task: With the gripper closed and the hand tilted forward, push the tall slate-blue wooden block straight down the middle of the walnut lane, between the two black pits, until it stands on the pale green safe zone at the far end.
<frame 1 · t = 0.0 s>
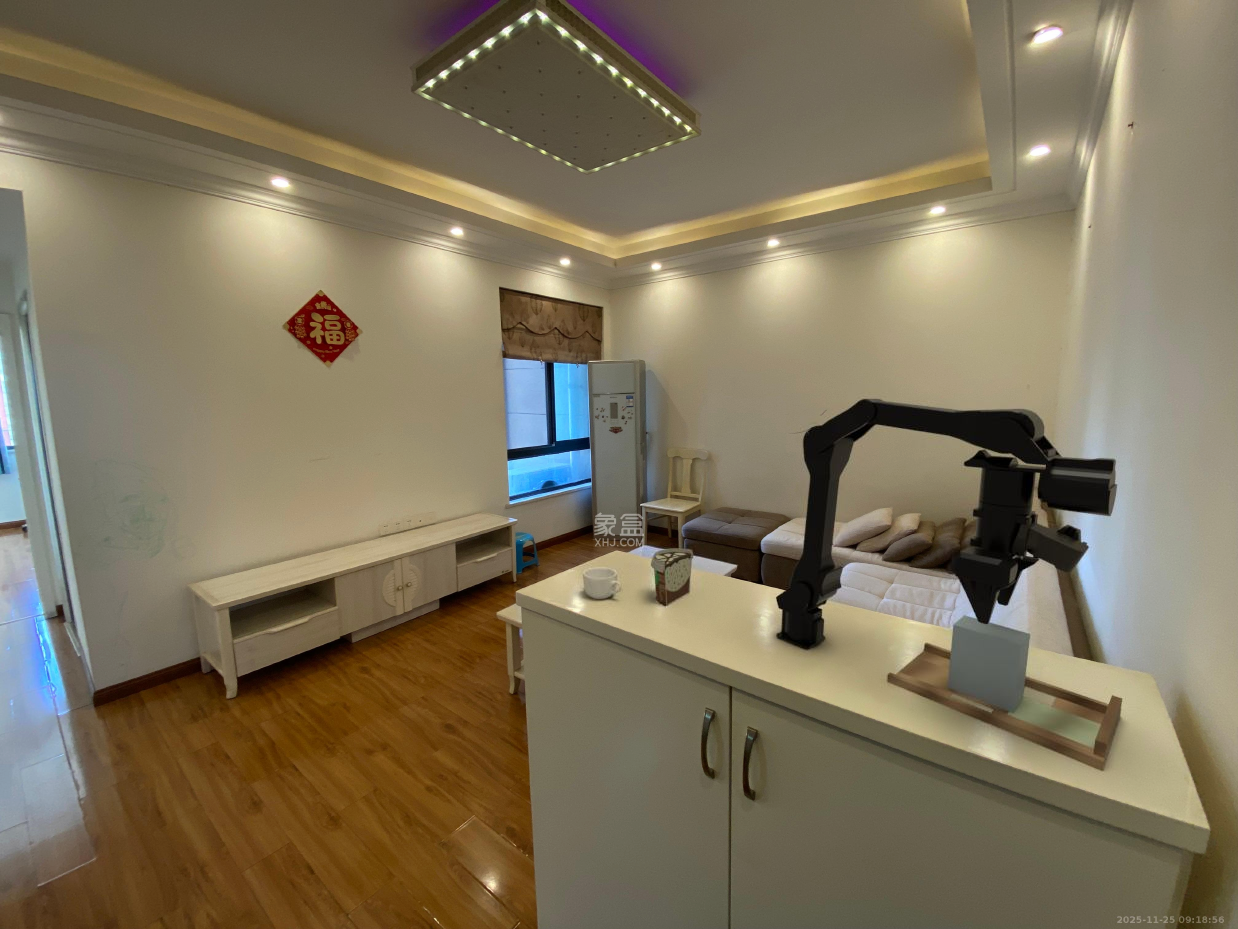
hand: (993, 613, 69), 15 cm above the cabinet, tool pointing down, fingers open, 9 cm apart
slate block: (984, 693, 73), point 1 cm above the cabinet, touching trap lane
food container: (666, 597, 112), on the cabinet
teacup: (603, 597, 112), on the cabinet
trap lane: (996, 704, 72), on the cabinet
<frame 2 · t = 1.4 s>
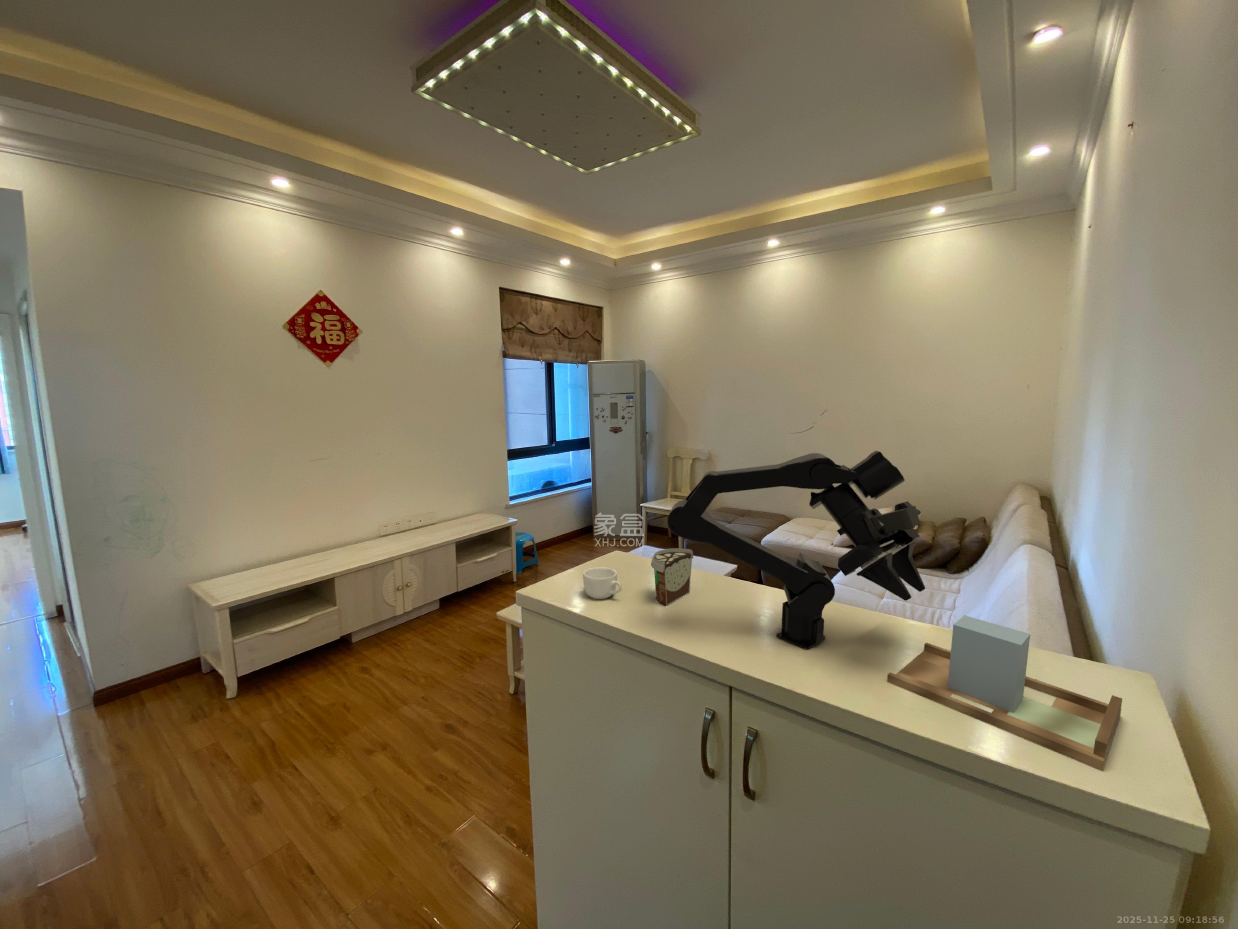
hand: (915, 594, 79), 13 cm above the cabinet, tool tilted 45°, fingers open, 5 cm apart
nothing on the cabinet moved.
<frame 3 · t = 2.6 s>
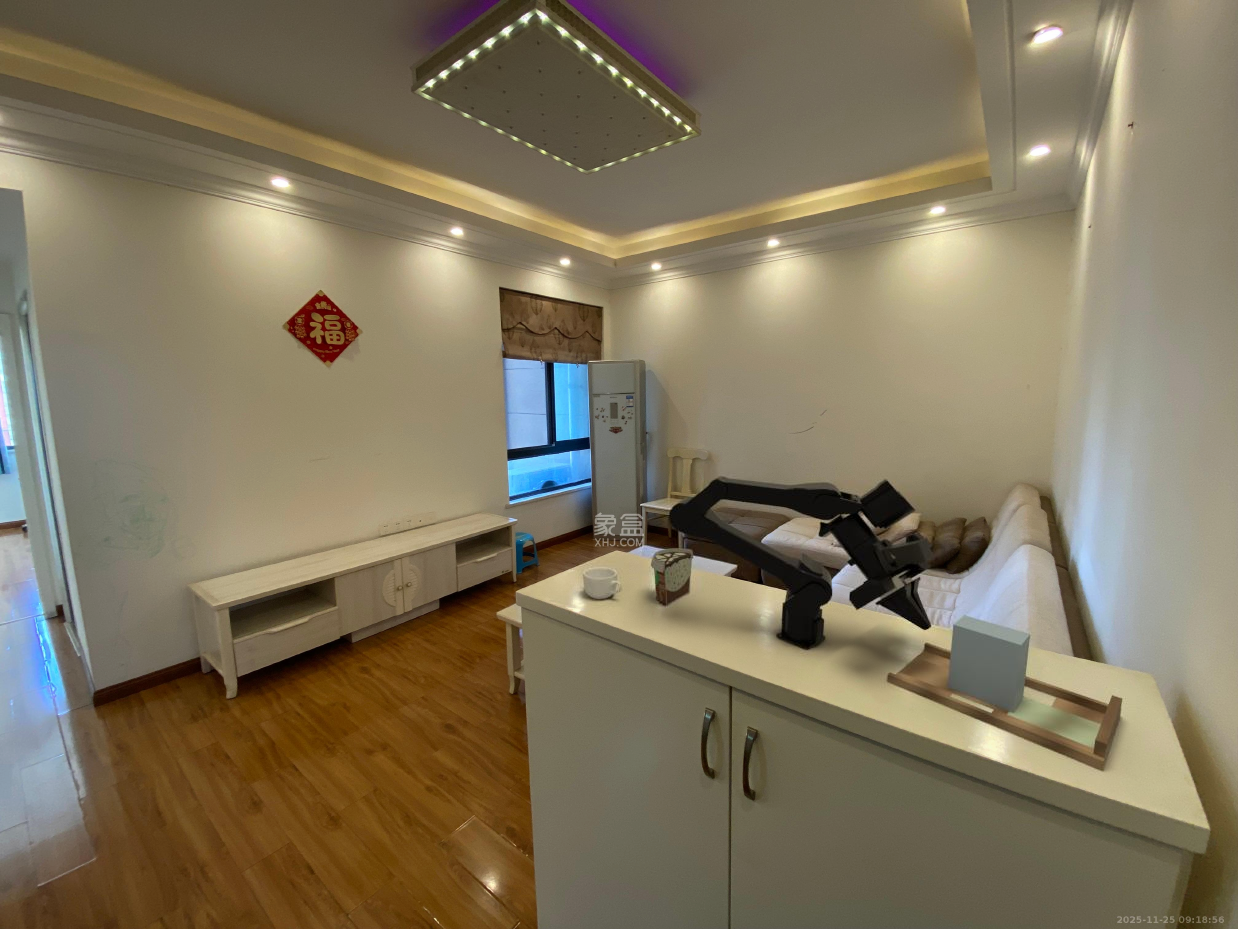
hand: (928, 628, 78), 8 cm above the cabinet, tool tilted 45°, fingers closed
nothing on the cabinet moved.
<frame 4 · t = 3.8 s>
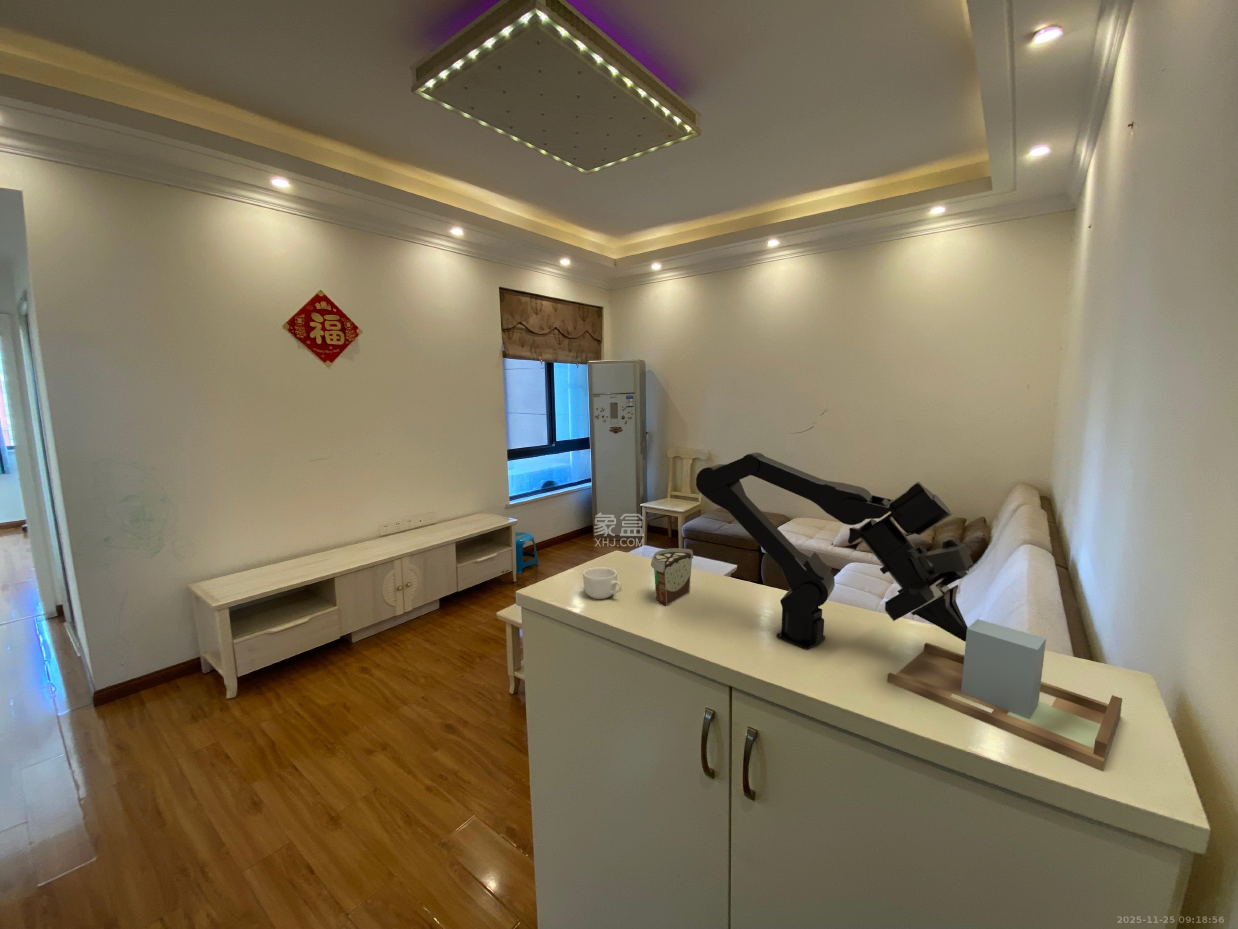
hand: (968, 639, 74), 8 cm above the cabinet, tool tilted 45°, fingers closed
slate block: (998, 698, 72), point 1 cm above the cabinet
everything else where it was.
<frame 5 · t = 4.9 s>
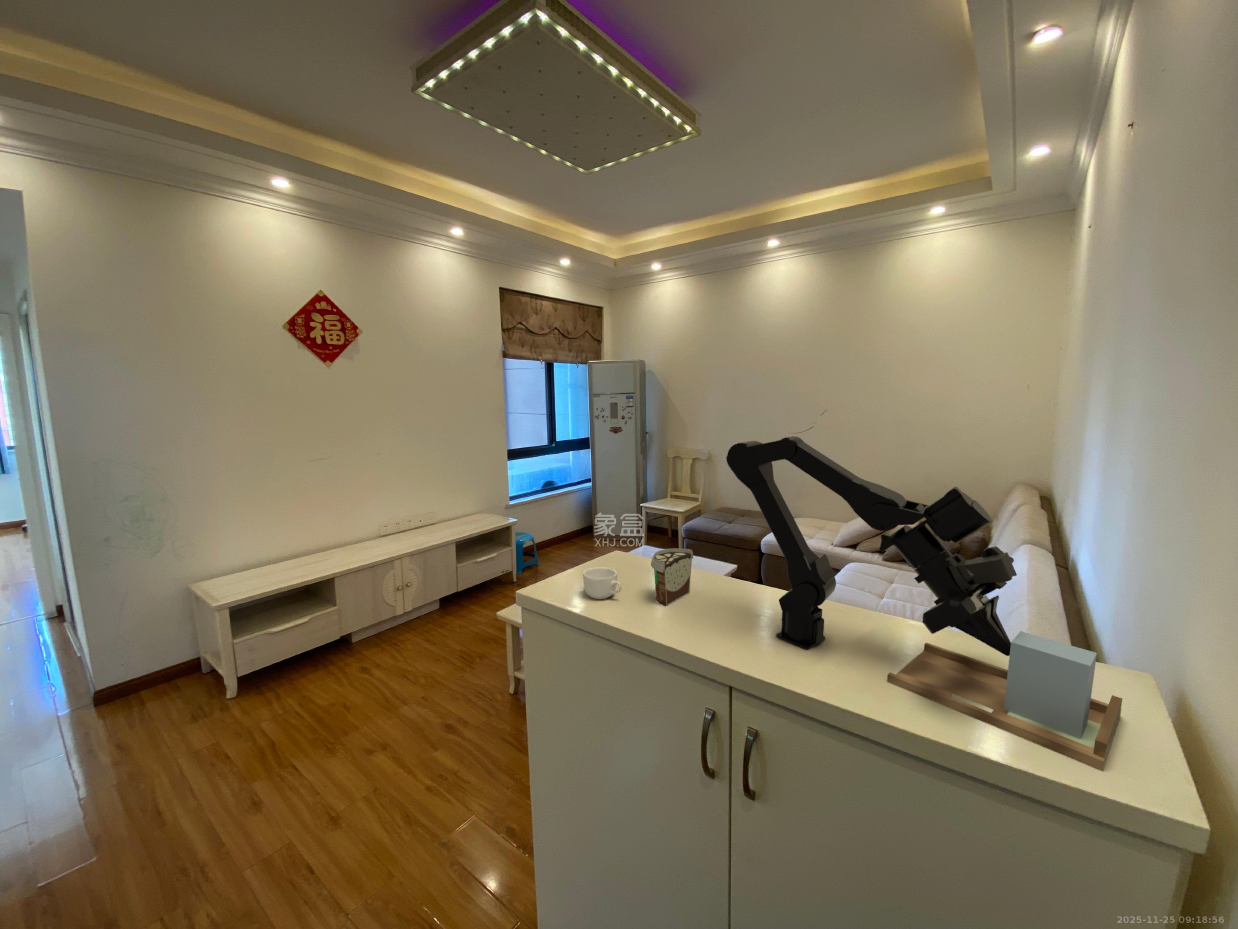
hand: (1011, 654, 70), 8 cm above the cabinet, tool tilted 45°, fingers closed, pressing on slate block
slate block: (1044, 716, 68), point 1 cm above the cabinet, touching gripper, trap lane
everything else where it was.
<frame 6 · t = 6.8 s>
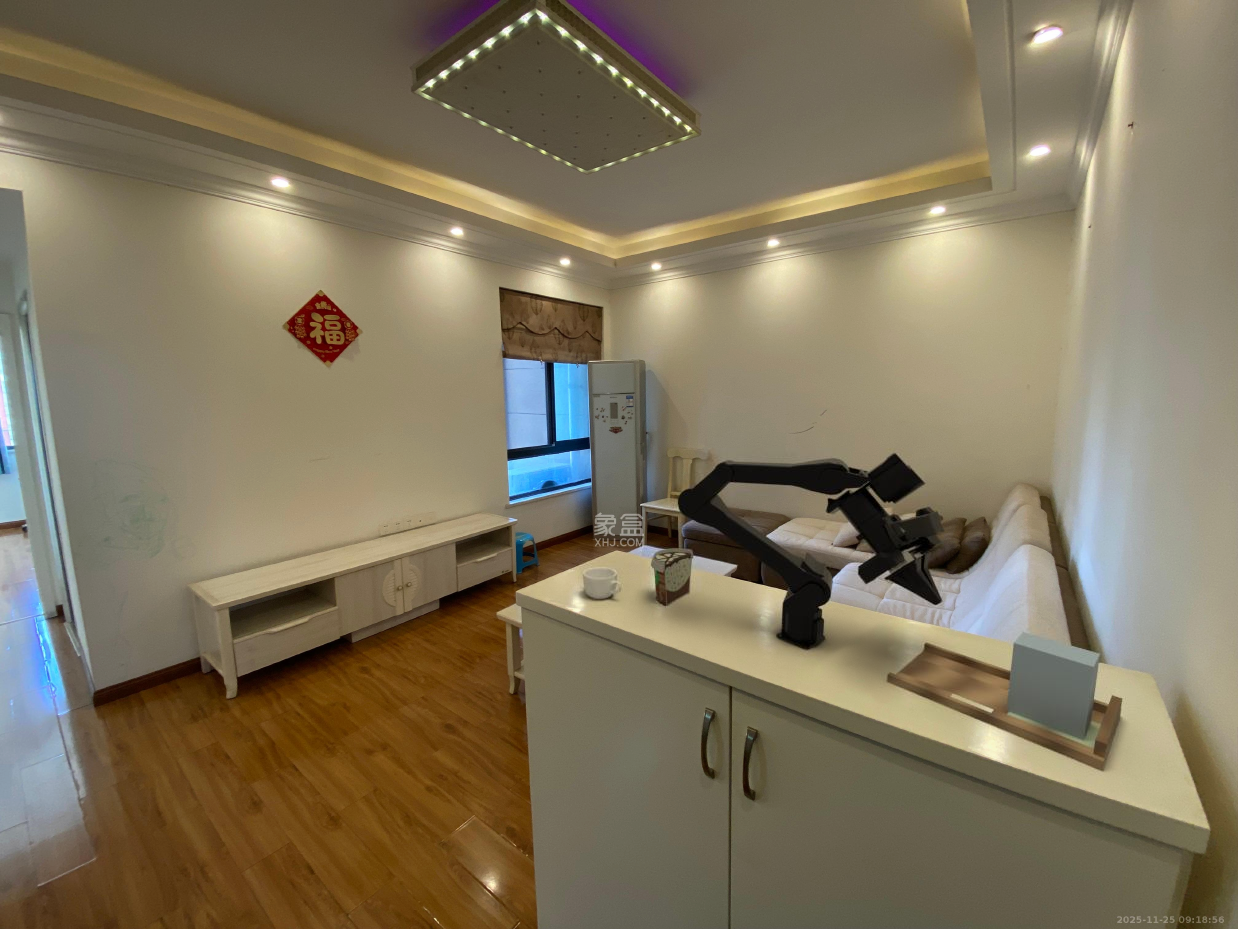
hand: (939, 603, 77), 13 cm above the cabinet, tool tilted 45°, fingers closed
slate block: (1047, 717, 68), point 1 cm above the cabinet, touching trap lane
everything else where it was.
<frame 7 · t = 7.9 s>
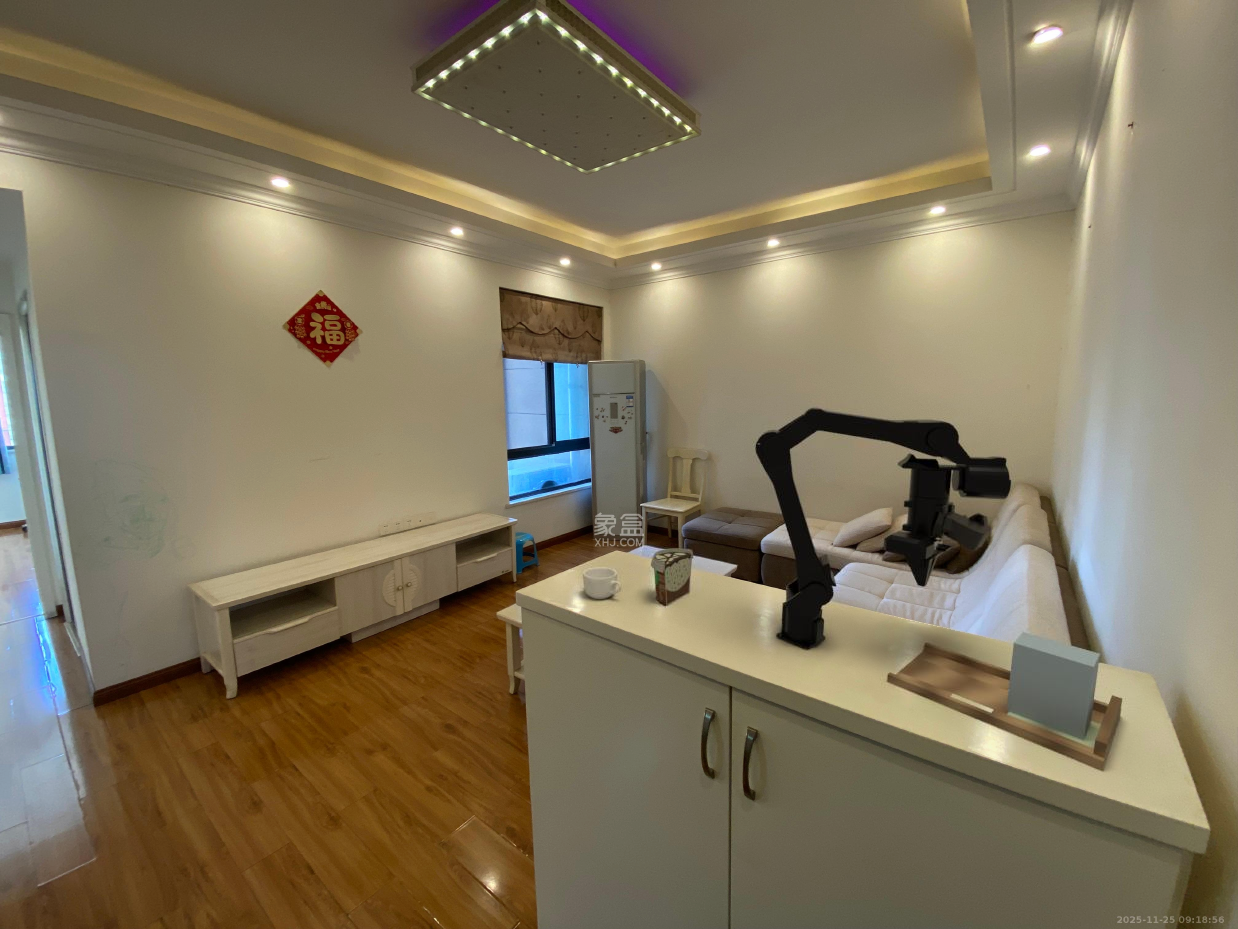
hand: (921, 585, 85), 13 cm above the cabinet, tool pointing down, fingers closed
nothing on the cabinet moved.
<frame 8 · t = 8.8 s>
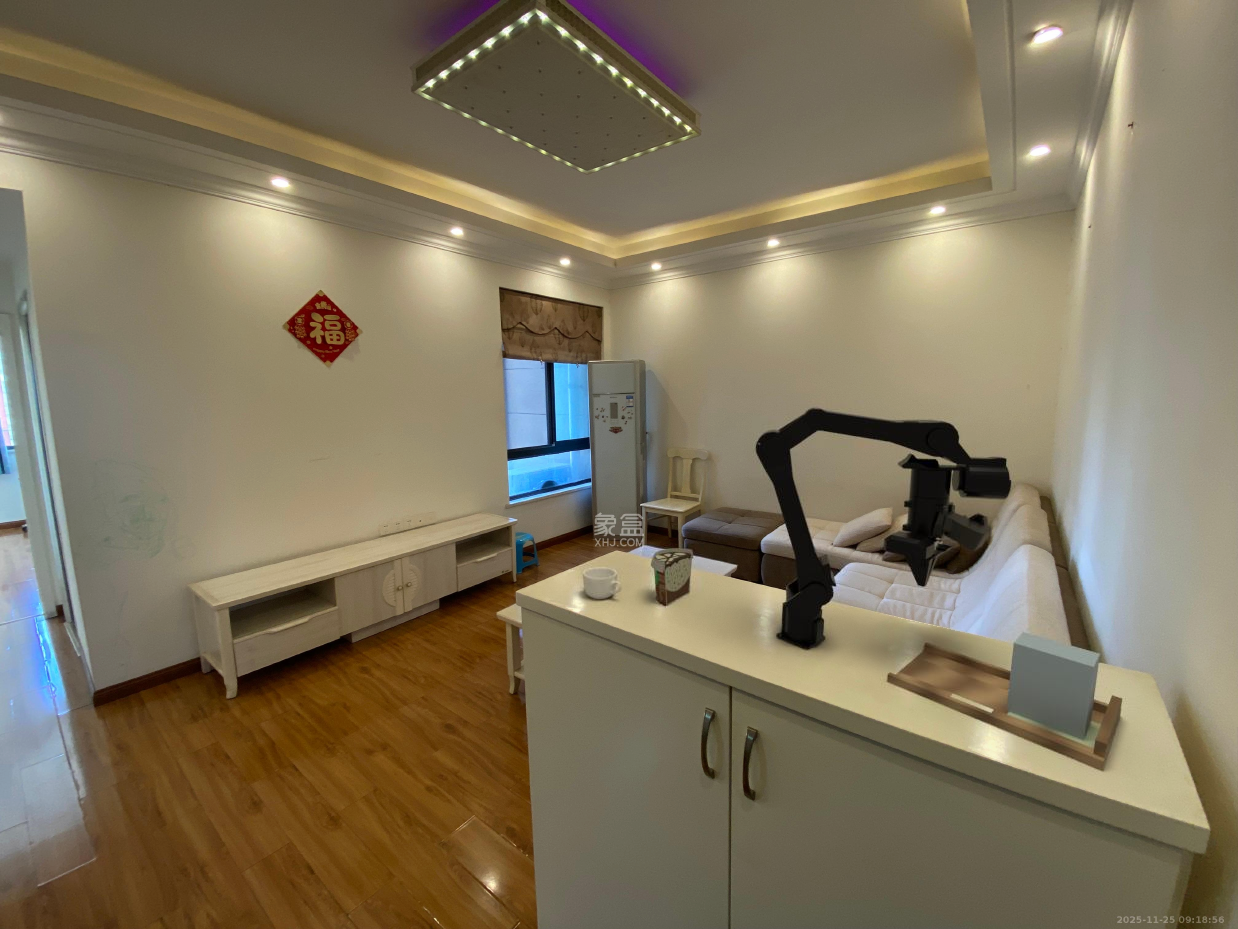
hand: (921, 585, 85), 12 cm above the cabinet, tool pointing down, fingers closed
nothing on the cabinet moved.
at the end: slate block inside the target area (0.5 cm from its centre), point 1.0 cm above the cabinet; slate block tilted 0° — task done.
